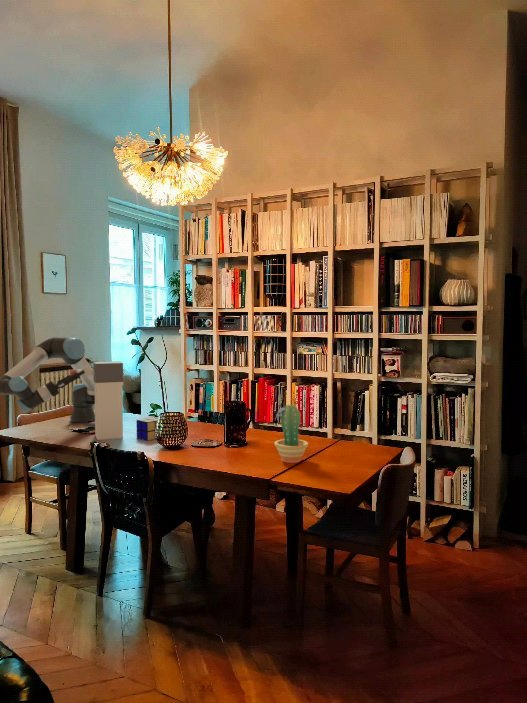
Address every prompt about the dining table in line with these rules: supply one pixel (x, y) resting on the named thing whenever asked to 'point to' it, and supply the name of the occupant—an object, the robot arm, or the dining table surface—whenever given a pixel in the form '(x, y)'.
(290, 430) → the potted cactus
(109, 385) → the socket stand
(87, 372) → the plug rod
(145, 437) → the puzzle cube
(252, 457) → the dining table surface
